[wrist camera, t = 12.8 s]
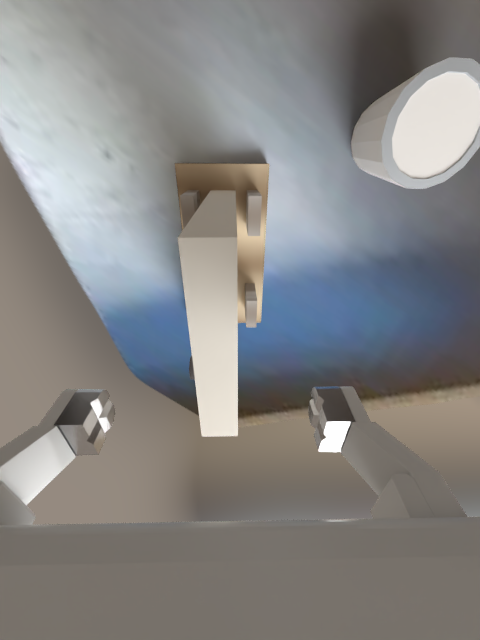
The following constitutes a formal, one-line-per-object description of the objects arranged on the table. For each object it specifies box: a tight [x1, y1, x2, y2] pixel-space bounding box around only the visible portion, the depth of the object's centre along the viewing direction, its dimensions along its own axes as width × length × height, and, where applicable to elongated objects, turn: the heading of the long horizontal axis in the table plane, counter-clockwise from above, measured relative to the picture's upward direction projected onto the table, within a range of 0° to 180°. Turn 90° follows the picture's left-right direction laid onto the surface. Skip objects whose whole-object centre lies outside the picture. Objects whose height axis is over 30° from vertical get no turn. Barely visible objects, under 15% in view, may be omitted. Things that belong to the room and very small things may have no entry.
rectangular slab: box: [178, 190, 238, 436], centre depth 20 cm, size 12×3×16 cm, turn 0°
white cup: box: [351, 57, 480, 189], centre depth 20 cm, size 7×7×7 cm
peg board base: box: [175, 163, 269, 327], centre depth 25 cm, size 16×8×6 cm, turn 0°
